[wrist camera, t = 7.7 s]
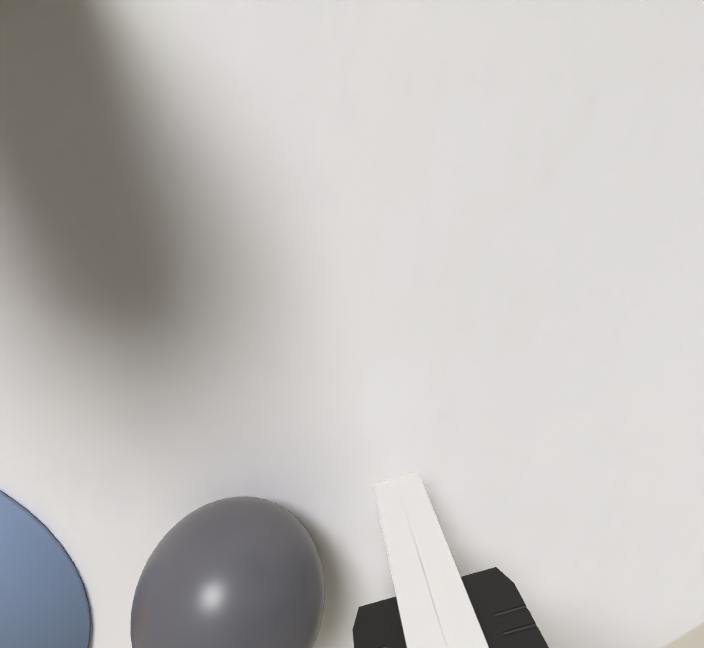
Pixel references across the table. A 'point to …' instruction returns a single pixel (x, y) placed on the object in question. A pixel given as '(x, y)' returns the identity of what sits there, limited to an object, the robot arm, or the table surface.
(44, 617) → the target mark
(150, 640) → the gray ball
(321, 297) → the table surface
